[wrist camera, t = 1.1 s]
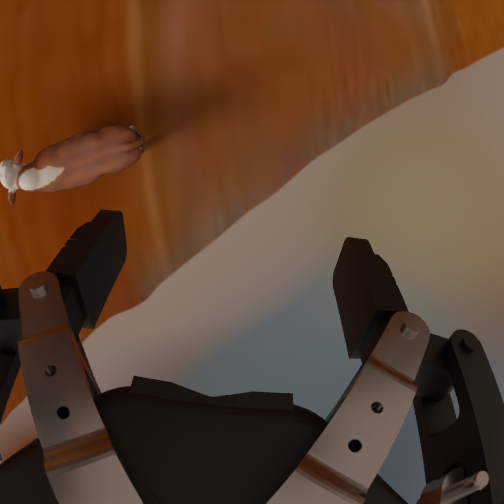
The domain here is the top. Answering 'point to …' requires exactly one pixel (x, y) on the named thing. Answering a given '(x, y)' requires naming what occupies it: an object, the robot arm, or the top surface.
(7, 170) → the bull figurine
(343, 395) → the robot arm
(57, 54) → the top surface
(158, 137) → the top surface
